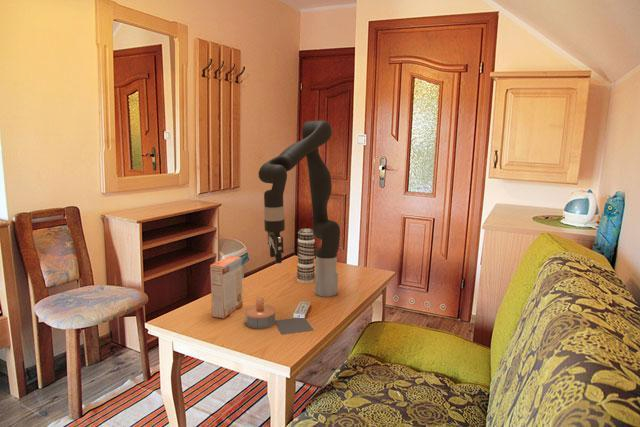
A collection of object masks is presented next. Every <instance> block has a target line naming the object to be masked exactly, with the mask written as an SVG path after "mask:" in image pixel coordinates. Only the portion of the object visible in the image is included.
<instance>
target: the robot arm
mask: <svg viewBox="0 0 640 427" xmlns="http://www.w3.org/2000/svg"><path fill="white" fill-rule="evenodd" d="M301 128H302V129H301V138H302V139H301V140H299V141H296V142H295V143H293V144H291V145H289V146H288V147H287V148H285V149H284V150H283V151H282V152H281V153H279V155H277V156H275V157H273V158H272V159H270V160H268V161H267V162H264V163H263V164H262V165H261V166H260V168H259V169H258V178H259V180H260V181H261V182H263V183H265V184H272V185H271V189H268V190H266V191H264V194H263V201H264V202H263V205H264V206H263V207H264V209H263V221H264V222H263V223H264V231H265V232H267V245H268V247H269V256H270V258H274V259H275V264H282V263H283V257H282V256H283V255H282V254H284V252H285V250H284V237H283V236H282V235H281V232H284V231H285V230H286V229H285V226H286V223H285V209H284V208H285V207H284V194H285V193H284V192H285V188H286V184H287V180H288V172H289V171H291V170H292V169H293V168H295V167H296V166H297V165H298V164H299V163H301V161H302V160H304V158H305V157H306V162H307V169H308V170H307V171H308V182H309V191H310V199H311V207H312V208H311V210H312V230H313V233H314V237H315V238H317V240H318V239H319V240H321V246H320V247H318V248H316V250H315V274H314V276H315V277H314V282H315V286H314V293H315V295H316V296H319V297H327V298H329V297H334V296H335V295H338V291H339V290H338V289H339V287H338V286H339V274H338V272H337V264H338V262H337V261H338V260H337V258H338V251H339V248H340V240H341V239H340V236H341V228H340V226H339V224H338V223H337V222H336V221H333V220H330V219H329V216H328V202H329V201H330V197H331V195H332V194H331V193H332V190H333V189H332V188H333V186H332V185H333V184H332V177H331V173H330V172H331V171H330V170H329V168H328V166H327V165H326V163H325V162H324V160H323V158H322V157H321V156H320V155H321V154H320V152H319V147H321V146H322V145H324V144H326V143H328V141H330V139H331V137H332V132H333V131H332V130H333V129H332V126H331V124H330V123H329V122H328V121H326V120H310V121H306V122H304V124H303V125H302V127H301Z"/></svg>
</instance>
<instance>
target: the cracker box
mask: <svg viewBox="0 0 640 427" xmlns="http://www.w3.org/2000/svg"><path fill="white" fill-rule="evenodd" d="M242 266H243V264H242V256H236V255H235V256H234V255H228V256H227V257H224V258H222V259H221V260H218V261H216V262H214V263H212V264H210V265H209V267H210V268H209V270H210V288H211V289H210V292H211V293H210V294H211V295H210V296H211V316H212V317H213V318H217V319H227V318H228V317H229V316H231V314H232V313H234V312H235V311H236V310H239V309H240V308H242V307H243V304H244V302H243V273H242V272H243V268H242Z"/></svg>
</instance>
